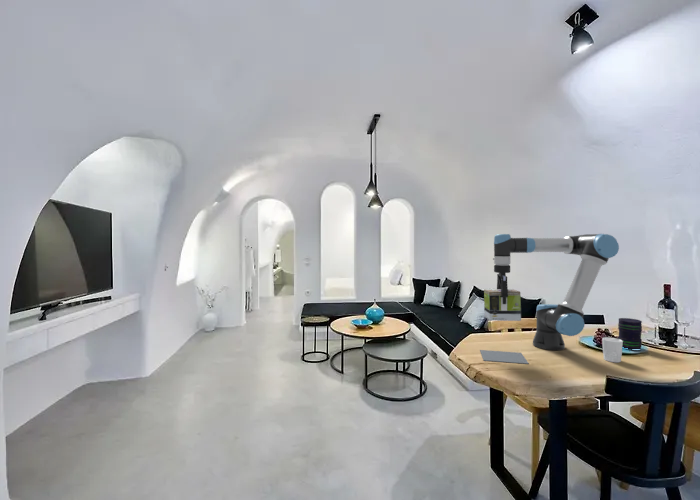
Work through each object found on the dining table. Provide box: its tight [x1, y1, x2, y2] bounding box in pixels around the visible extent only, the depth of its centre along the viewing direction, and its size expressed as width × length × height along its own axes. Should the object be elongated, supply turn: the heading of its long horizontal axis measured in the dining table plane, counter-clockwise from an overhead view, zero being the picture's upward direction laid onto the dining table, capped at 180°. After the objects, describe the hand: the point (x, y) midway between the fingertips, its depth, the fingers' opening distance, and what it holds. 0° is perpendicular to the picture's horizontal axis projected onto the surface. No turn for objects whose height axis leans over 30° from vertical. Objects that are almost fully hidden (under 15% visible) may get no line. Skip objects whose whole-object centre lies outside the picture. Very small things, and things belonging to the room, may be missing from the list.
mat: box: [479, 349, 530, 365], centre depth 172 cm, size 20×16×1 cm
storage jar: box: [617, 317, 643, 350], centre depth 185 cm, size 10×10×15 cm
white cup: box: [601, 336, 623, 363], centre depth 166 cm, size 8×8×10 cm
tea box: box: [483, 288, 522, 322], centre depth 174 cm, size 15×10×15 cm, turn 83°
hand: (502, 308), depth 174 cm, fingers closed on tea box, 10 cm apart
